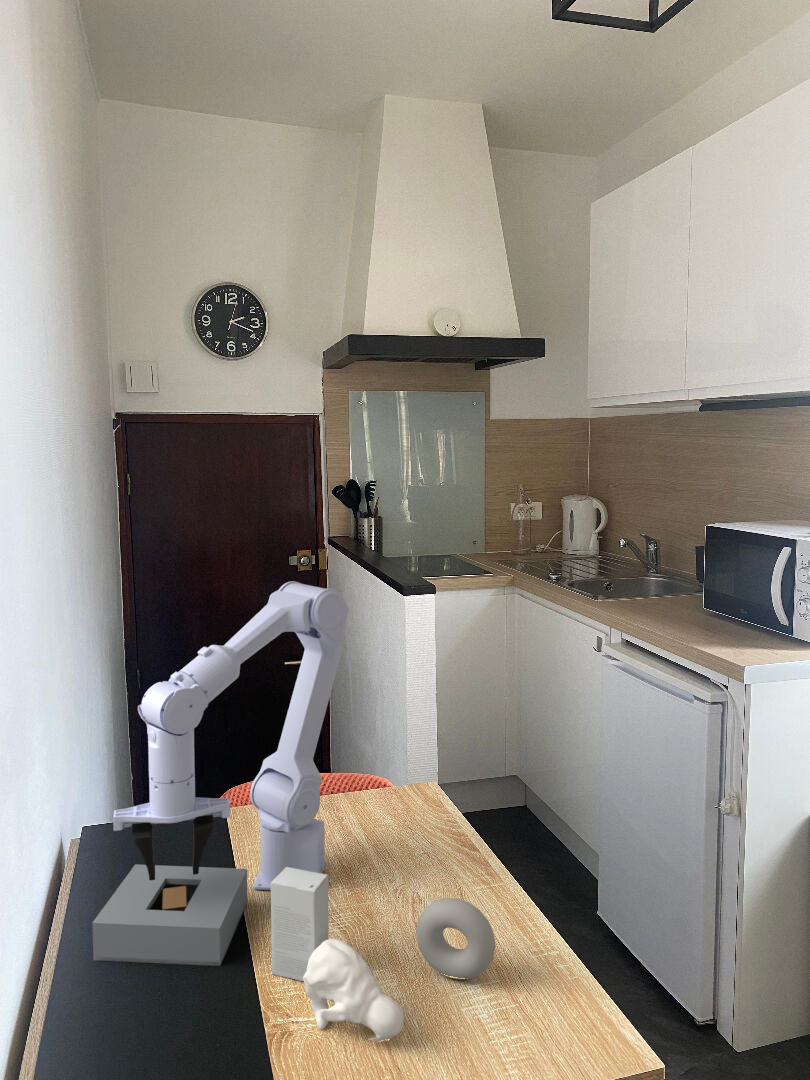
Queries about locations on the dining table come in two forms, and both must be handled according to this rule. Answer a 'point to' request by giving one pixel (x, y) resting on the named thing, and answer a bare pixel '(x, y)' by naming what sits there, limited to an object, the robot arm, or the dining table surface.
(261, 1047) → the dining table surface
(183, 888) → the brown wooden block
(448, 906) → the donut
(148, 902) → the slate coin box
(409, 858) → the dining table surface
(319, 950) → the white animal sculpture
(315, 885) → the skincare box
